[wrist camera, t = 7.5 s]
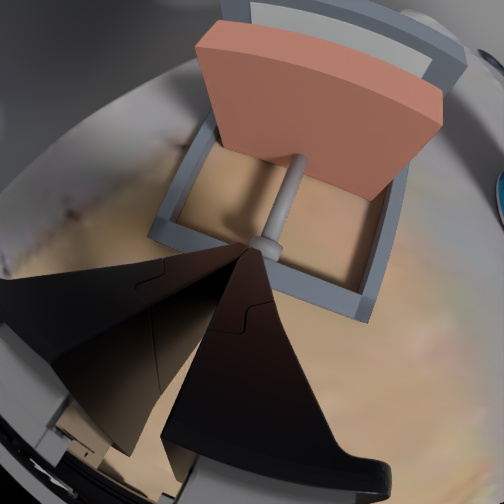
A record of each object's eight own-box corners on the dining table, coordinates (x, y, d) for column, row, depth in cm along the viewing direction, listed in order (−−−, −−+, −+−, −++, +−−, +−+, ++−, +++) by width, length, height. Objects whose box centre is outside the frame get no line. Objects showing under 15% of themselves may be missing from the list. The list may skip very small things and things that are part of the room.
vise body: (361, 322, 17) (451, 340, 7) (153, 240, 19) (62, 189, 9) (410, 119, 19) (462, 42, 10) (247, 64, 21) (237, -28, 11)
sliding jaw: (343, 291, 17) (420, 280, 8) (185, 230, 18) (113, 167, 9) (378, 172, 18) (442, 89, 9) (237, 122, 20) (218, 19, 10)
